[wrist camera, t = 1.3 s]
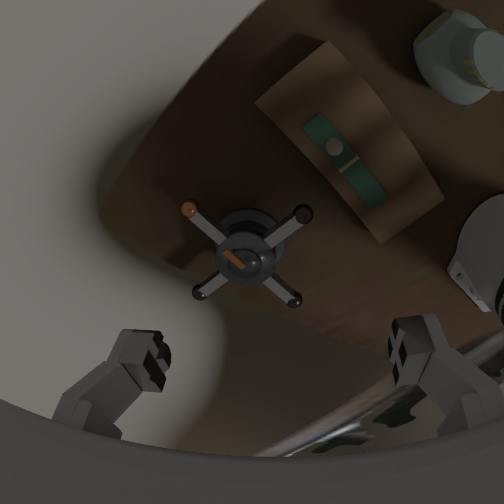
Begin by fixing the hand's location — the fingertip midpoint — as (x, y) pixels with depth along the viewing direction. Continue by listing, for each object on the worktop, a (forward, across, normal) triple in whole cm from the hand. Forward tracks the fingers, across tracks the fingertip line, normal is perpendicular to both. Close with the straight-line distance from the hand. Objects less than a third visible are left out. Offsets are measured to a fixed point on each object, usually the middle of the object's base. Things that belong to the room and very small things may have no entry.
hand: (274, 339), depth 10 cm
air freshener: (+27, -20, -10) cm, 35 cm away
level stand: (+27, -8, +2) cm, 28 cm away
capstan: (+26, +5, +13) cm, 30 cm away
